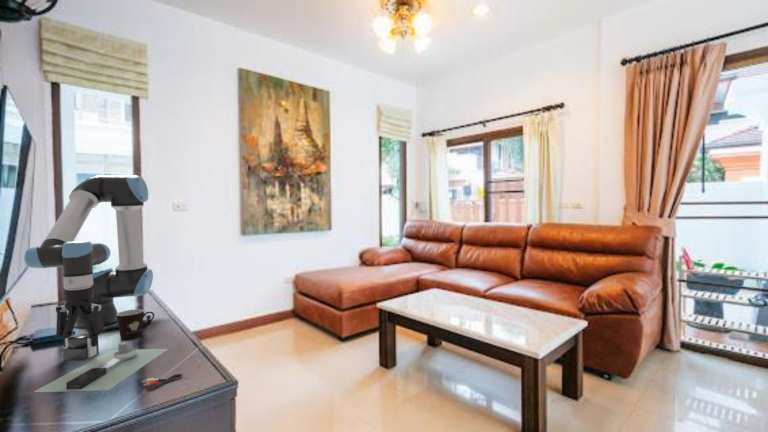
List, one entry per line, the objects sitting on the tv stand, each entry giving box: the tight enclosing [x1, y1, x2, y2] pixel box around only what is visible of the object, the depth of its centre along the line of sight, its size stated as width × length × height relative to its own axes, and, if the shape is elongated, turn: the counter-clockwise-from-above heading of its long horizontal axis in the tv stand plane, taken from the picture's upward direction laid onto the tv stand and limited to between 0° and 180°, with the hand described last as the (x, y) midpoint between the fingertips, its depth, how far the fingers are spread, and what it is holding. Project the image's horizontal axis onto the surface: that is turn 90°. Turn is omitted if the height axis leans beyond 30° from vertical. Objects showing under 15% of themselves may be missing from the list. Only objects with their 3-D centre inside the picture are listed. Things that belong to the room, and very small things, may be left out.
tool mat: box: [33, 348, 169, 393], centre depth 109 cm, size 28×20×1 cm
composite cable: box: [141, 373, 183, 391], centre depth 99 cm, size 10×5×2 cm, turn 129°
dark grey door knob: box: [62, 332, 100, 362], centre depth 118 cm, size 6×6×7 cm
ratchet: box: [66, 340, 138, 389], centre depth 108 cm, size 23×6×5 cm, turn 2°
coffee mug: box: [116, 308, 155, 342], centre depth 136 cm, size 12×9×10 cm
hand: (81, 355), depth 118 cm, fingers closed on dark grey door knob, 6 cm apart
